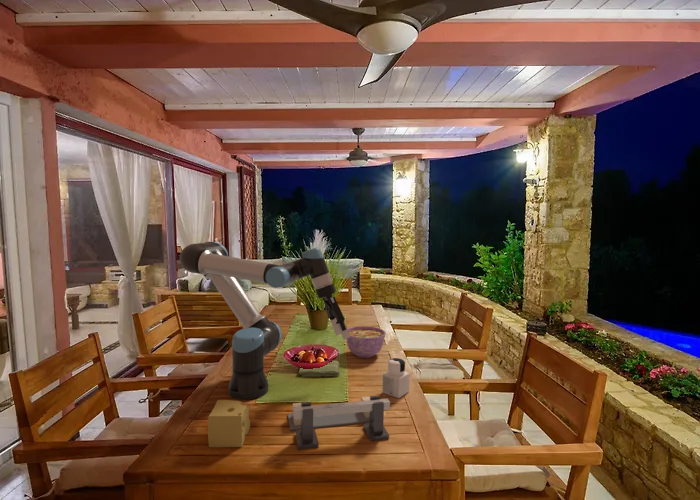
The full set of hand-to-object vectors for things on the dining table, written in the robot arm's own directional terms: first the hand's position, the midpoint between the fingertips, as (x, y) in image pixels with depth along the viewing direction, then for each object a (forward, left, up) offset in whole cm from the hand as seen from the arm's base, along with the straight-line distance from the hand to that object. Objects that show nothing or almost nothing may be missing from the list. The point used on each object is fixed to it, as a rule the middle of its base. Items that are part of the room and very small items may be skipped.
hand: (342, 336), depth 156 cm
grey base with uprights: (-7, -23, -21) cm, 32 cm away
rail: (-7, -35, -13) cm, 38 cm away
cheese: (-41, -29, -21) cm, 55 cm away
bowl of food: (+19, +33, -21) cm, 44 cm away
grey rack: (-7, -35, -21) cm, 41 cm away
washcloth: (-6, +17, -21) cm, 28 cm away
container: (+20, -9, -21) cm, 30 cm away
